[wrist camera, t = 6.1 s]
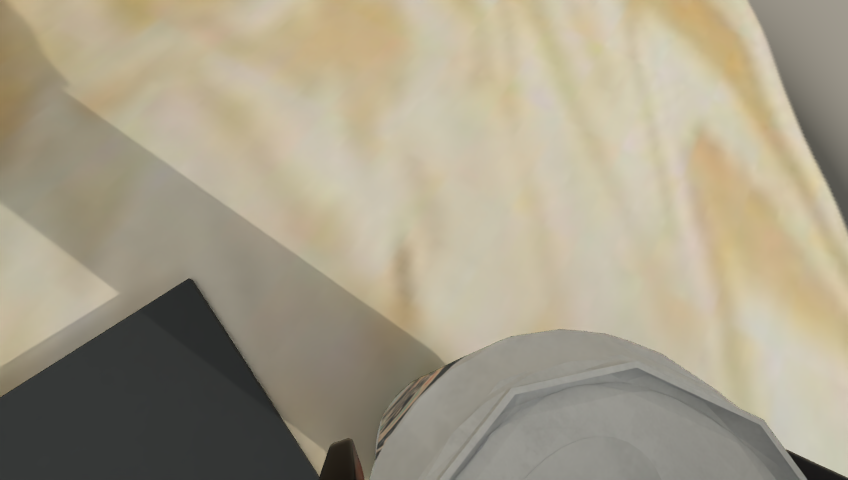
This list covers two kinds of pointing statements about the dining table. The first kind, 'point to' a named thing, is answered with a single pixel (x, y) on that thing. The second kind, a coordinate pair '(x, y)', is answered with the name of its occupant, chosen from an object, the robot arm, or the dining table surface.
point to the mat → (149, 407)
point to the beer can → (572, 418)
